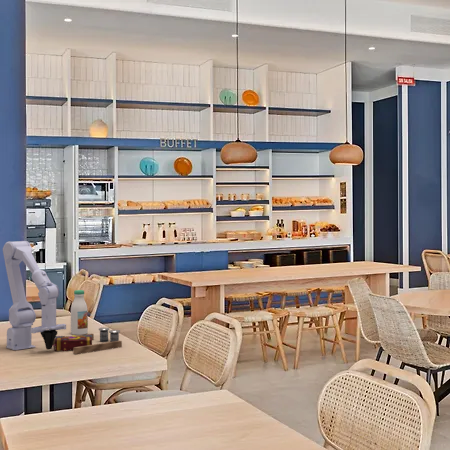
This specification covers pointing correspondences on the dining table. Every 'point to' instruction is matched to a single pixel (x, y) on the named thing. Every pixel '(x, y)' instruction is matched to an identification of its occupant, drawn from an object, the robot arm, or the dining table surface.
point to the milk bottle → (79, 314)
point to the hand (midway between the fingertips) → (48, 349)
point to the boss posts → (104, 335)
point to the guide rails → (95, 346)
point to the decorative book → (71, 342)
